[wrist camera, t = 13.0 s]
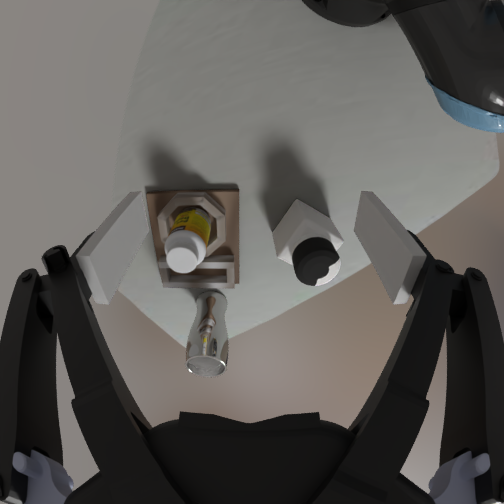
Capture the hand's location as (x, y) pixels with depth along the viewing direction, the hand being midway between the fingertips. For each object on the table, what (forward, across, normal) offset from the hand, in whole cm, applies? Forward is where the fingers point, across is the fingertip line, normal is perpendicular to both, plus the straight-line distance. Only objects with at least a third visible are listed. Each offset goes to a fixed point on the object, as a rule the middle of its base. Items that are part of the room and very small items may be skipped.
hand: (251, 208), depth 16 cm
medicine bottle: (+24, +8, -14) cm, 29 cm away
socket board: (+23, -9, -16) cm, 30 cm away
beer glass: (+23, -8, -31) cm, 39 cm away
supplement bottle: (+22, -9, -13) cm, 27 cm away
